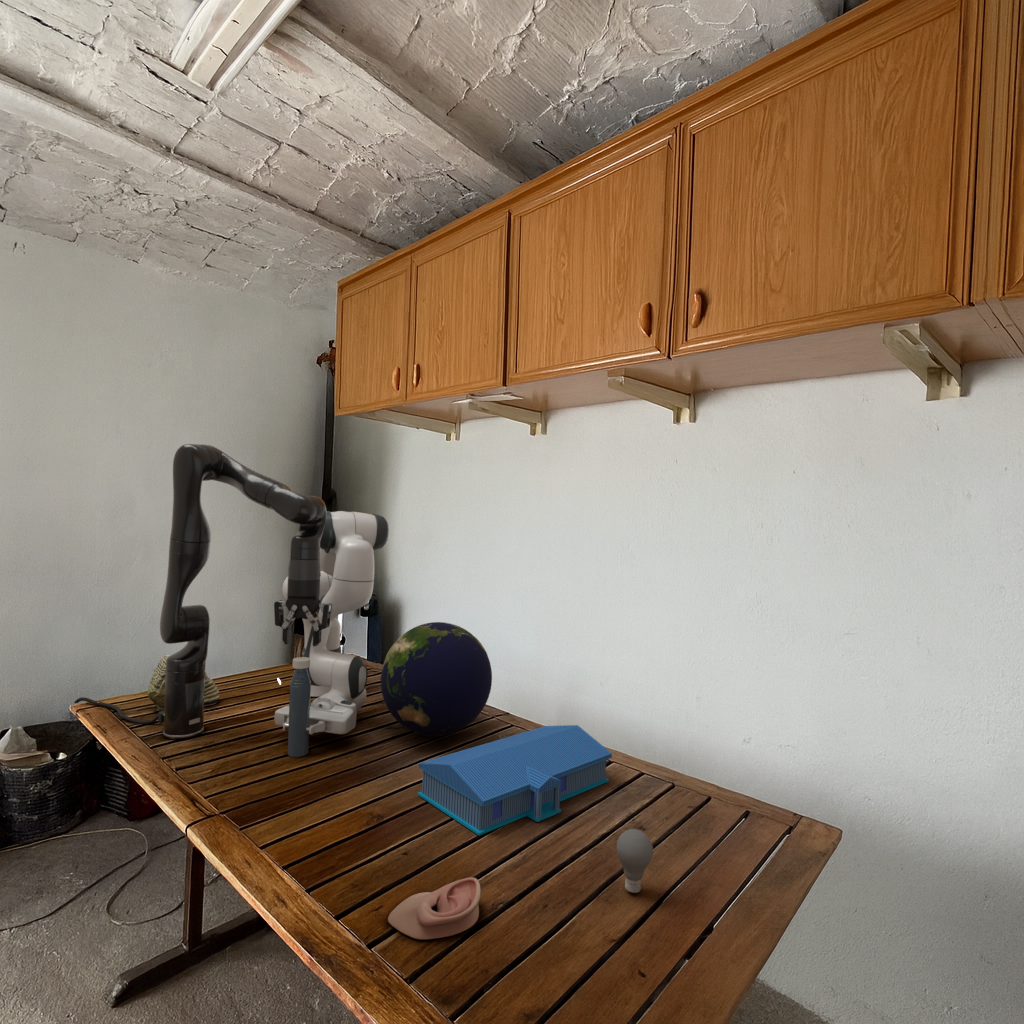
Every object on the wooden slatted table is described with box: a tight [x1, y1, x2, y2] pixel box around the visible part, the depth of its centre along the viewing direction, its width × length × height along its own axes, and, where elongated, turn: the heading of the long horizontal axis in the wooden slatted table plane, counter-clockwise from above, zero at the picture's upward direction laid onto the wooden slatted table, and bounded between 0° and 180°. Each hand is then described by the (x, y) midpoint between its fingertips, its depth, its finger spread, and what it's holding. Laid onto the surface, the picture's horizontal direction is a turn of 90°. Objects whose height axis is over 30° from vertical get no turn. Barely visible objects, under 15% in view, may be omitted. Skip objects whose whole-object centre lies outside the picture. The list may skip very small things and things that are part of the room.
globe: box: [380, 621, 493, 737], centre depth 172 cm, size 30×30×30 cm
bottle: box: [286, 668, 312, 758], centre depth 155 cm, size 5×5×23 cm
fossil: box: [147, 654, 221, 712], centre depth 185 cm, size 9×18×15 cm, turn 132°
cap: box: [292, 656, 310, 669], centre depth 155 cm, size 4×4×2 cm
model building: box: [417, 724, 613, 837], centre depth 140 cm, size 39×24×10 cm, turn 132°
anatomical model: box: [387, 877, 482, 940], centre depth 97 cm, size 13×4×12 cm
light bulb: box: [615, 828, 654, 894], centre depth 106 cm, size 6×6×10 cm
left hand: (301, 644), depth 155 cm, fingers open, 6 cm apart
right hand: (296, 729), depth 155 cm, fingers closed on bottle, 5 cm apart
